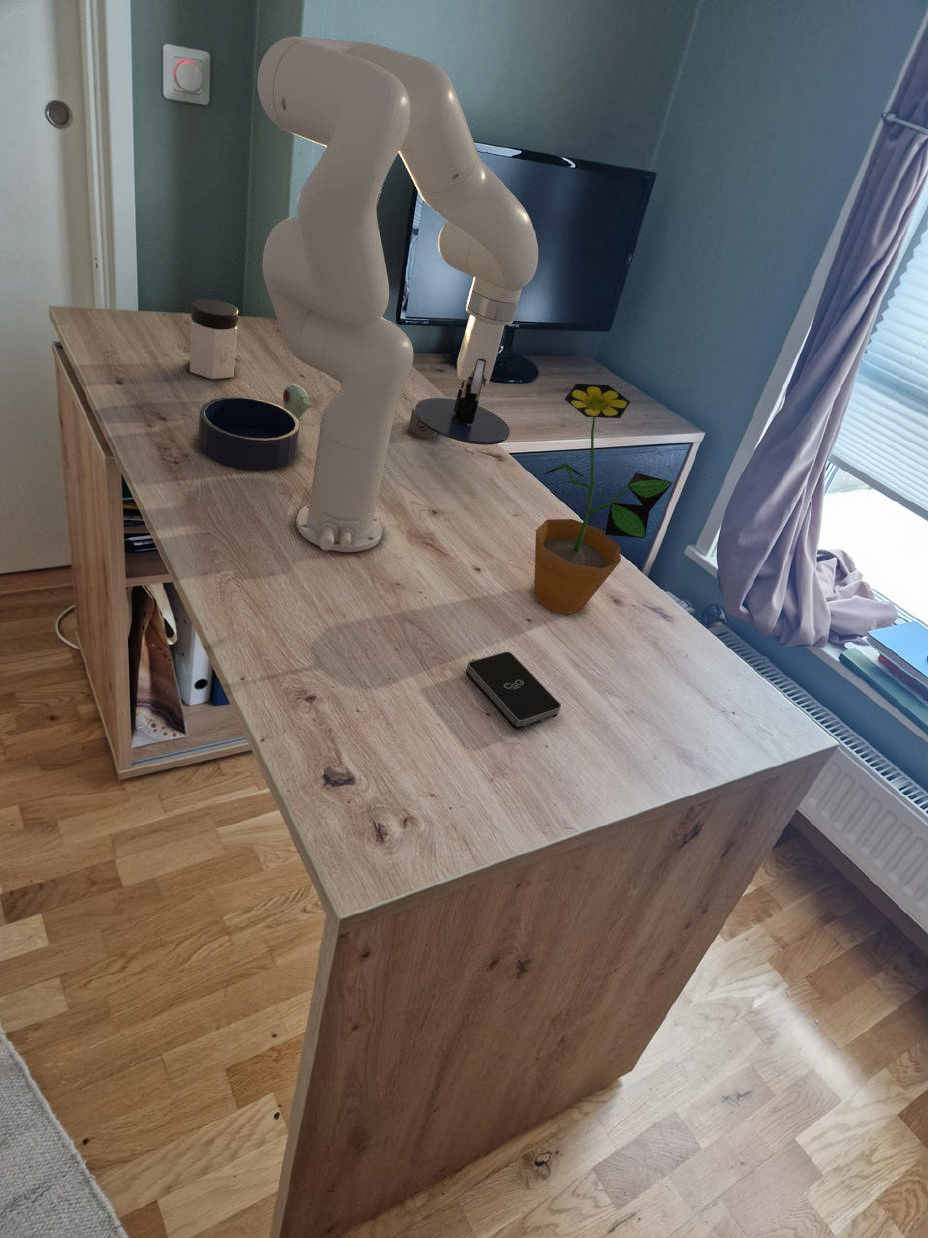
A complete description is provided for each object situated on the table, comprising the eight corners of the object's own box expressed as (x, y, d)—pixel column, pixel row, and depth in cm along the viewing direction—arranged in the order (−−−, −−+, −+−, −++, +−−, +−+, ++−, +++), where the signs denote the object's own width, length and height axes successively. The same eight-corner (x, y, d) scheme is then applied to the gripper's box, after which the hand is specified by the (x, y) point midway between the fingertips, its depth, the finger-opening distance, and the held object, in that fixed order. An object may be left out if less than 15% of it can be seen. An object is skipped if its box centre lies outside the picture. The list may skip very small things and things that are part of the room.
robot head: (312, 430, 146) (317, 394, 142) (291, 431, 143) (295, 395, 139) (293, 409, 150) (298, 374, 147) (272, 410, 148) (276, 374, 144)
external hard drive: (514, 734, 96) (519, 722, 95) (461, 674, 102) (465, 661, 101) (558, 718, 100) (563, 706, 99) (504, 661, 106) (508, 649, 105)
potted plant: (477, 567, 123) (532, 375, 105) (581, 562, 131) (649, 383, 113) (529, 644, 110) (602, 441, 93) (641, 633, 119) (727, 445, 101)
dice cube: (414, 424, 158) (419, 399, 155) (438, 431, 158) (444, 407, 155) (407, 433, 154) (412, 408, 151) (432, 441, 154) (438, 416, 151)
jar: (201, 381, 151) (204, 316, 144) (178, 363, 155) (180, 299, 148) (244, 377, 157) (249, 314, 150) (221, 359, 161) (225, 297, 154)
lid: (511, 456, 132) (522, 421, 129) (411, 434, 129) (419, 397, 126) (504, 417, 145) (514, 384, 142) (413, 396, 143) (421, 362, 139)
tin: (288, 478, 130) (291, 448, 127) (188, 458, 128) (189, 427, 125) (301, 437, 143) (305, 408, 140) (210, 418, 140) (212, 389, 137)
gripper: (466, 286, 132) (440, 394, 143) (469, 315, 119) (440, 432, 130) (511, 298, 133) (482, 404, 144) (519, 328, 120) (486, 442, 131)
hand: (463, 416), depth 137 cm, fingers closed on lid, 2 cm apart
